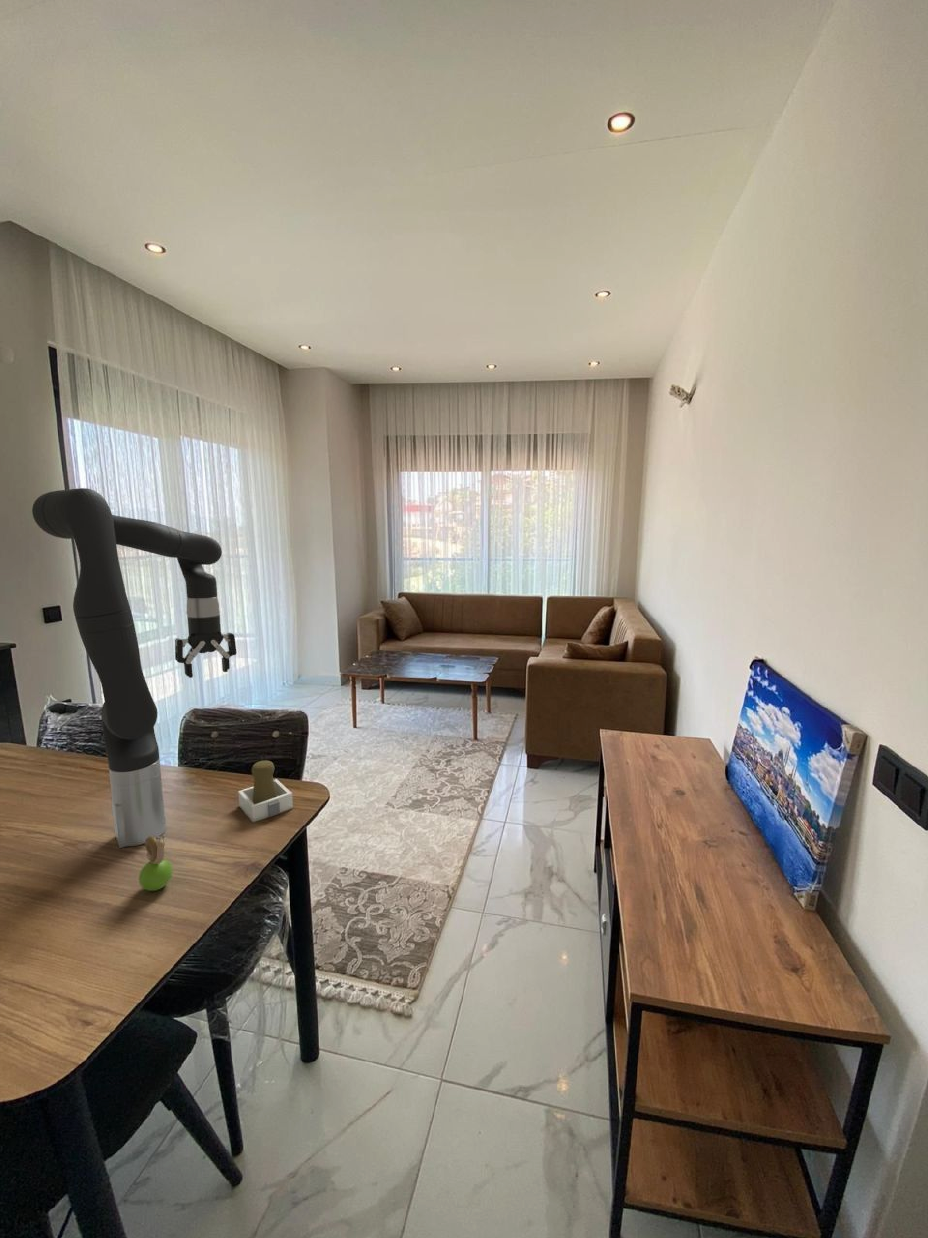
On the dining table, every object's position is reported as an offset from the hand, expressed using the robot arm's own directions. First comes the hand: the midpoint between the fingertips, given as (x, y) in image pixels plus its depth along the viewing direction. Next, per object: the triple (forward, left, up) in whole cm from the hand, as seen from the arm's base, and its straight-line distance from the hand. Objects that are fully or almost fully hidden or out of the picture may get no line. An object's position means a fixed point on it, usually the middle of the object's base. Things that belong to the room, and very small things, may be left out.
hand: (208, 674), depth 130 cm
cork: (+5, -23, -30) cm, 38 cm away
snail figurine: (-21, -38, -30) cm, 53 cm away
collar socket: (+5, -23, -30) cm, 38 cm away
